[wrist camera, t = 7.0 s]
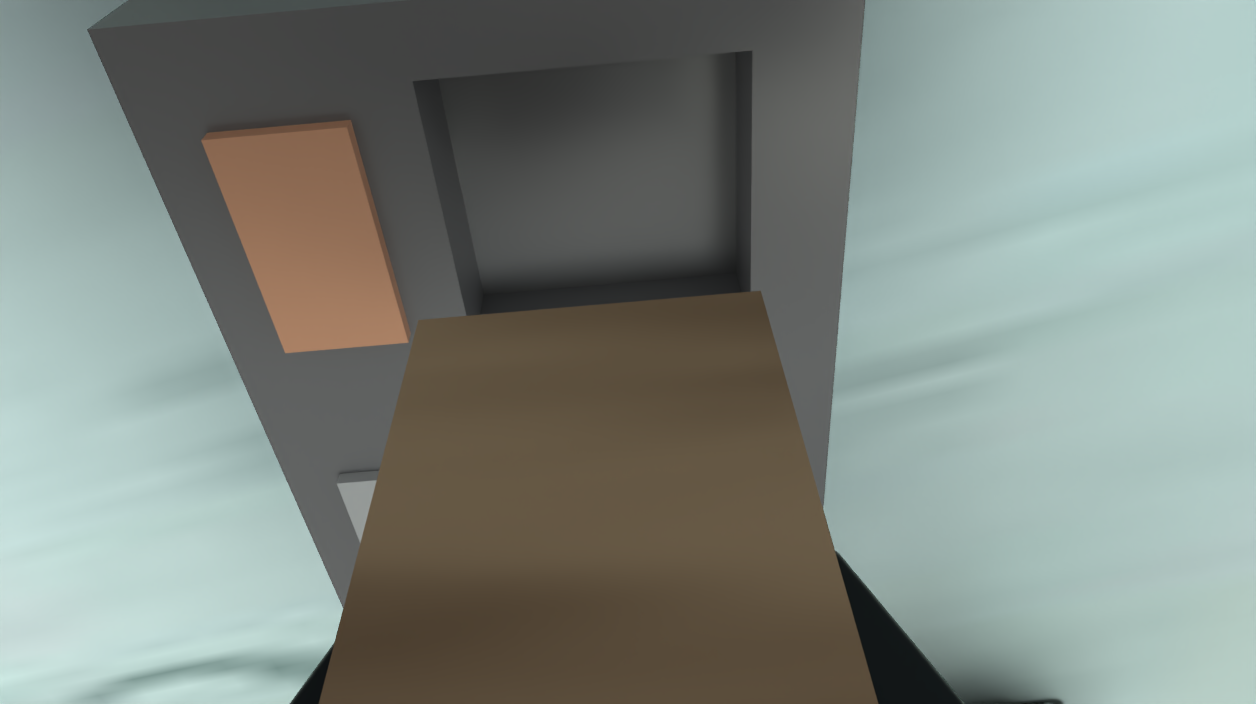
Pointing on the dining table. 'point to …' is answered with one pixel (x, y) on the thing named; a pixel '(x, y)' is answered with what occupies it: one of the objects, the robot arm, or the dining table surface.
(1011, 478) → the dining table surface
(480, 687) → the walnut plug
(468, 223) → the socket block
